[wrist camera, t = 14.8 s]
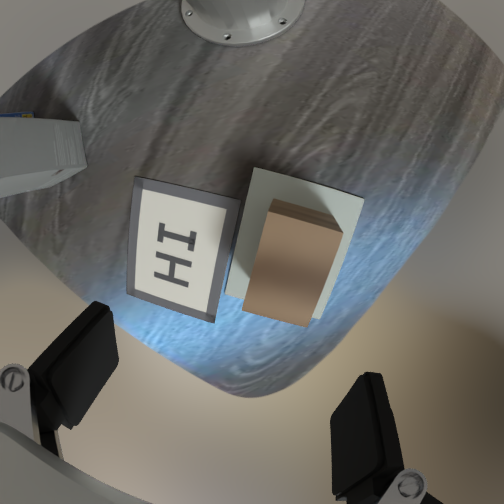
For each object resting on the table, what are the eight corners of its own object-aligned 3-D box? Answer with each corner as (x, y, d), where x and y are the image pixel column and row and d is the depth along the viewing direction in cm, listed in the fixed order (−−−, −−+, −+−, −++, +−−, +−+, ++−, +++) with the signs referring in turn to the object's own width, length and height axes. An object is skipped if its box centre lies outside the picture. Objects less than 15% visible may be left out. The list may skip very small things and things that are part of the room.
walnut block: (273, 198, 26) (267, 211, 21) (333, 215, 26) (343, 233, 20) (251, 280, 30) (241, 310, 24) (305, 295, 29) (307, 327, 24)
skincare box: (51, 187, 30) (-42, 219, 15) (42, 140, 27) (-51, 155, 13) (91, 166, 28) (-18, 193, 13) (81, 113, 26) (-26, 115, 11)
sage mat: (255, 166, 26) (254, 167, 26) (362, 197, 26) (364, 199, 25) (226, 289, 32) (224, 294, 31) (319, 314, 31) (319, 319, 30)
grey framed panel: (139, 175, 28) (134, 176, 27) (242, 198, 28) (241, 200, 27) (130, 290, 34) (126, 293, 33) (216, 318, 33) (214, 323, 32)
